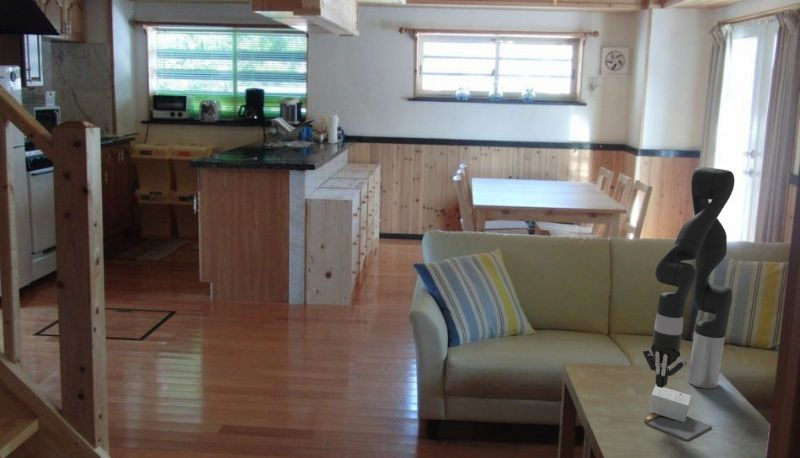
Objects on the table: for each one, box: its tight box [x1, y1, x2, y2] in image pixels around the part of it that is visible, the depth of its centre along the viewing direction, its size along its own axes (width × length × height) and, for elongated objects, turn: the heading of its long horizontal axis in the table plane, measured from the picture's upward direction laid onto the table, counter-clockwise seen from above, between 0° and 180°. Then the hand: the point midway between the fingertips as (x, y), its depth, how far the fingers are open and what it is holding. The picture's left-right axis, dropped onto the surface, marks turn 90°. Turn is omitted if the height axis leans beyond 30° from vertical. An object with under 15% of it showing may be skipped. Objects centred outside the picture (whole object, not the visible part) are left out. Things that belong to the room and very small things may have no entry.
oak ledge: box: [644, 413, 662, 424], centre depth 223 cm, size 12×1×1 cm, turn 132°
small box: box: [647, 384, 692, 423], centre depth 223 cm, size 8×6×10 cm
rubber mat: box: [647, 416, 713, 442], centre depth 218 cm, size 14×12×1 cm
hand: (660, 386), depth 221 cm, fingers closed
